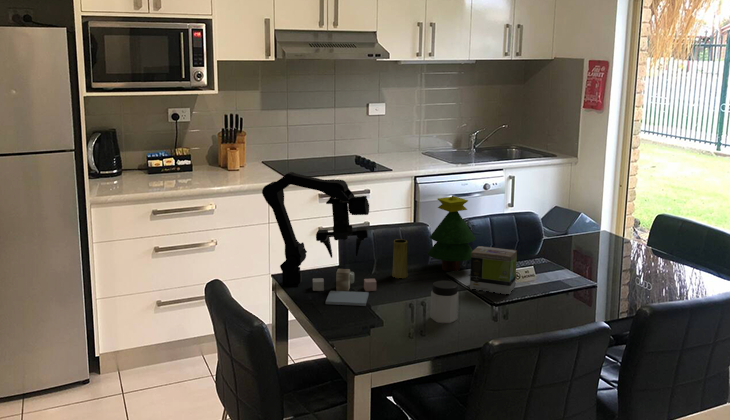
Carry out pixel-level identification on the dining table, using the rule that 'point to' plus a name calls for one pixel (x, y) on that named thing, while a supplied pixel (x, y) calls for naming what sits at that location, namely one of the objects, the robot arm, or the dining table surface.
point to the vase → (400, 259)
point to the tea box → (493, 269)
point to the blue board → (347, 298)
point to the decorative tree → (452, 236)
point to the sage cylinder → (351, 277)
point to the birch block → (343, 280)
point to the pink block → (370, 284)
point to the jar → (444, 302)
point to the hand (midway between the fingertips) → (344, 256)
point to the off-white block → (318, 284)
